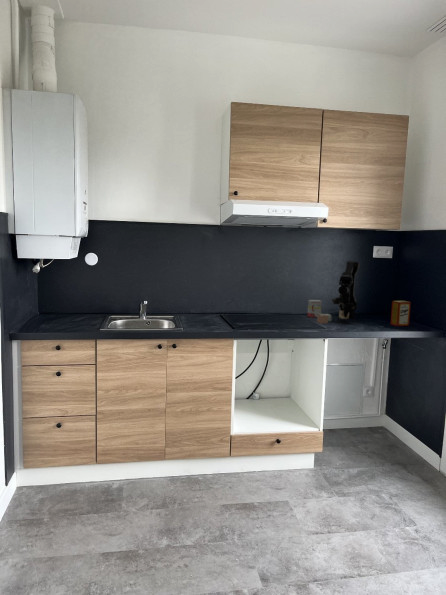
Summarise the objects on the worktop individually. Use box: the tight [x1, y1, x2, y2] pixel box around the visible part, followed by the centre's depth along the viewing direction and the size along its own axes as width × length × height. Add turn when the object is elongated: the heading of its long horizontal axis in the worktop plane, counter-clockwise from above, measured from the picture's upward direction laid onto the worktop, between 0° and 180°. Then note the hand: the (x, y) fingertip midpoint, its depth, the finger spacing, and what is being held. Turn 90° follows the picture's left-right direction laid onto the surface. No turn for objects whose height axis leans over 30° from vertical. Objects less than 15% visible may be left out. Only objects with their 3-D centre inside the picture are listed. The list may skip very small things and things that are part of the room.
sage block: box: [319, 313, 333, 322], centre depth 308 cm, size 7×7×4 cm
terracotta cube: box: [316, 315, 329, 324], centre depth 296 cm, size 5×5×5 cm
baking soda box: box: [390, 300, 412, 327], centre depth 296 cm, size 10×6×16 cm
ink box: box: [307, 299, 323, 318], centre depth 320 cm, size 9×5×12 cm, turn 103°
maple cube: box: [338, 309, 350, 320], centre depth 302 cm, size 5×5×5 cm
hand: (343, 316), depth 302 cm, fingers closed on maple cube, 5 cm apart
